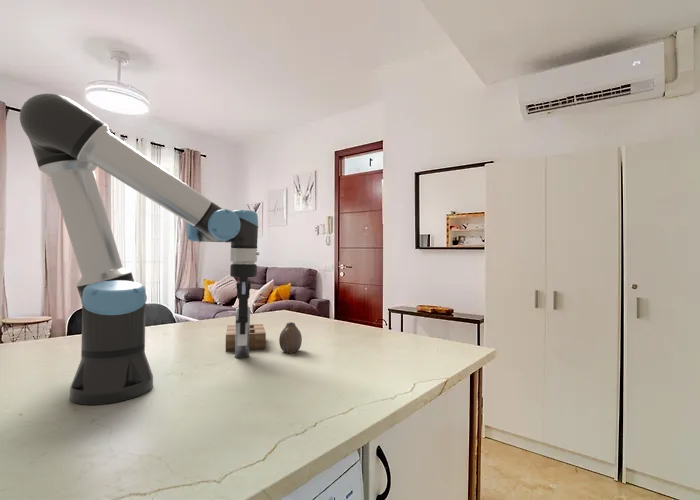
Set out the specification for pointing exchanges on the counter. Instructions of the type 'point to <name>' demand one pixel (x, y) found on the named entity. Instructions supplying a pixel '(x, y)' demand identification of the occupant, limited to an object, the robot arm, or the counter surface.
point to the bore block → (255, 338)
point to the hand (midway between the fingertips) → (242, 343)
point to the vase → (290, 338)
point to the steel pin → (239, 350)
